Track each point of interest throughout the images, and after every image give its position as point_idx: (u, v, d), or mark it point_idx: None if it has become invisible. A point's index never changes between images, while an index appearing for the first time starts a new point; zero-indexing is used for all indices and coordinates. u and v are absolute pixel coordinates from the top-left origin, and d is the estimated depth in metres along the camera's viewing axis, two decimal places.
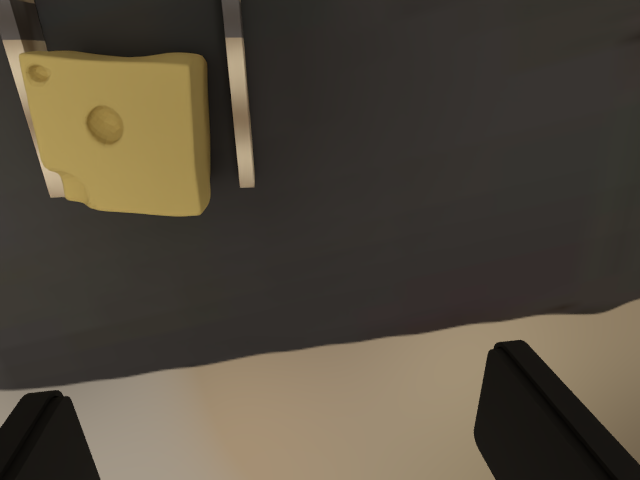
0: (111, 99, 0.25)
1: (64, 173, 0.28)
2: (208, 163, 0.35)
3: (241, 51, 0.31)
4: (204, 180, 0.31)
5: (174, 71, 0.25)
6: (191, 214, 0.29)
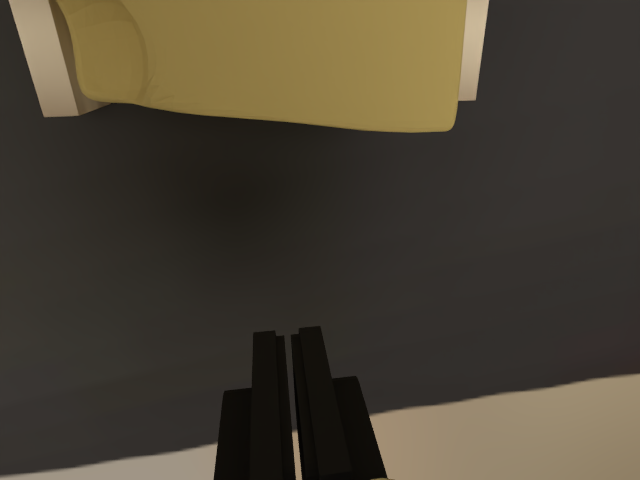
0: None
1: (78, 3, 0.10)
2: None
3: None
4: None
5: None
6: (432, 127, 0.10)
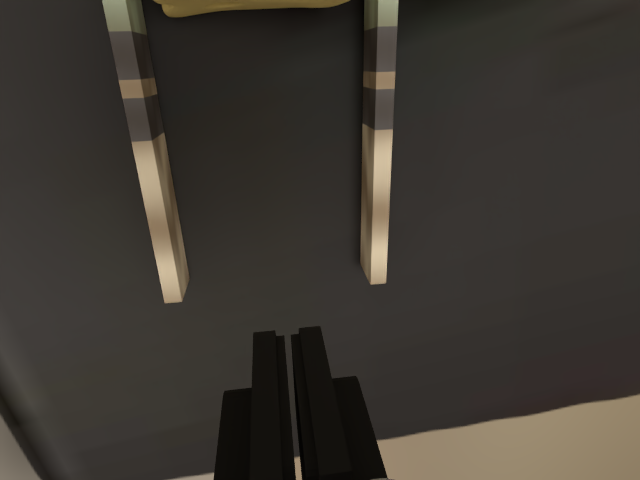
0: None
1: None
2: None
3: (390, 143, 0.27)
4: None
5: None
6: None
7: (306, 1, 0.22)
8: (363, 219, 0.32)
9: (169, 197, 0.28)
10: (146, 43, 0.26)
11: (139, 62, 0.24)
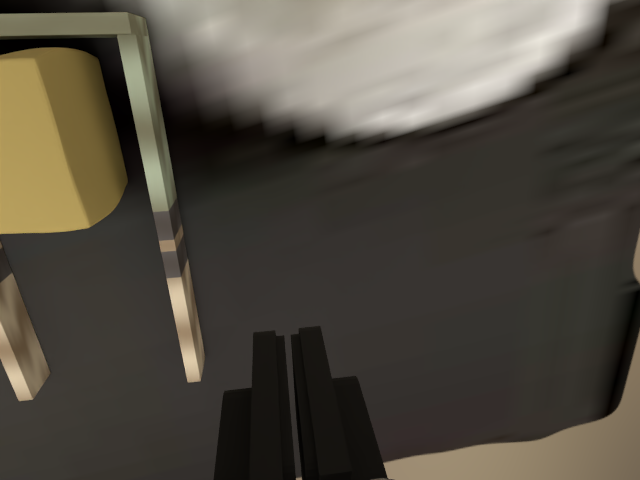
0: None
1: None
2: (118, 169, 0.32)
3: (181, 286, 0.35)
4: (99, 188, 0.28)
5: (19, 67, 0.22)
6: (79, 228, 0.26)
7: None
8: None
9: (17, 322, 0.36)
10: None
11: None
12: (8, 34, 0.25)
